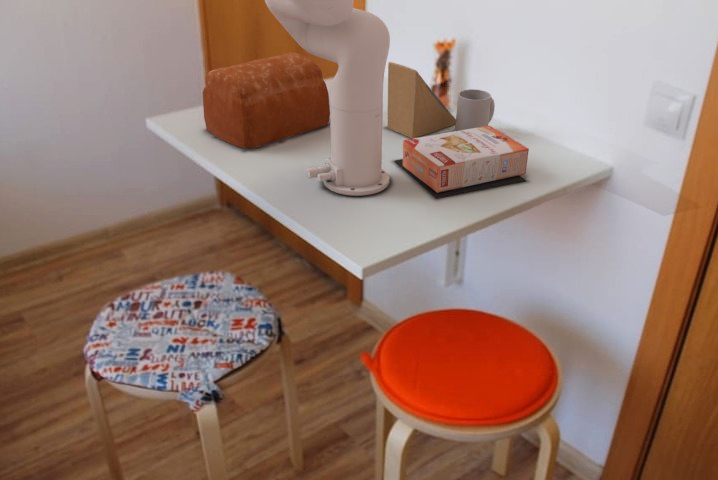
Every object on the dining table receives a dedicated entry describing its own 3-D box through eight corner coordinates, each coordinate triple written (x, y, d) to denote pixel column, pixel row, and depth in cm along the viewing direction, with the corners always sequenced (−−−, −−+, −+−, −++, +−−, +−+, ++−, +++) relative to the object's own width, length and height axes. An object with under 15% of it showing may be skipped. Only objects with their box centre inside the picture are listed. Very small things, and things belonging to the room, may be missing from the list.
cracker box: (530, 146, 140) (438, 165, 131) (526, 174, 143) (437, 195, 134) (489, 122, 150) (401, 139, 141) (486, 149, 153) (400, 167, 144)
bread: (336, 124, 163) (334, 59, 155) (247, 153, 148) (241, 82, 139) (287, 105, 172) (284, 42, 164) (199, 130, 157) (191, 62, 149)
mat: (436, 198, 134) (436, 197, 134) (394, 161, 147) (394, 160, 147) (526, 181, 142) (526, 180, 141) (478, 147, 155) (478, 146, 155)
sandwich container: (460, 122, 167) (465, 57, 159) (413, 139, 158) (416, 70, 149) (433, 112, 172) (437, 49, 164) (386, 127, 163) (388, 61, 154)
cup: (448, 131, 162) (451, 93, 157) (480, 122, 167) (483, 85, 163) (470, 142, 157) (474, 102, 152) (502, 132, 163) (507, 94, 158)
